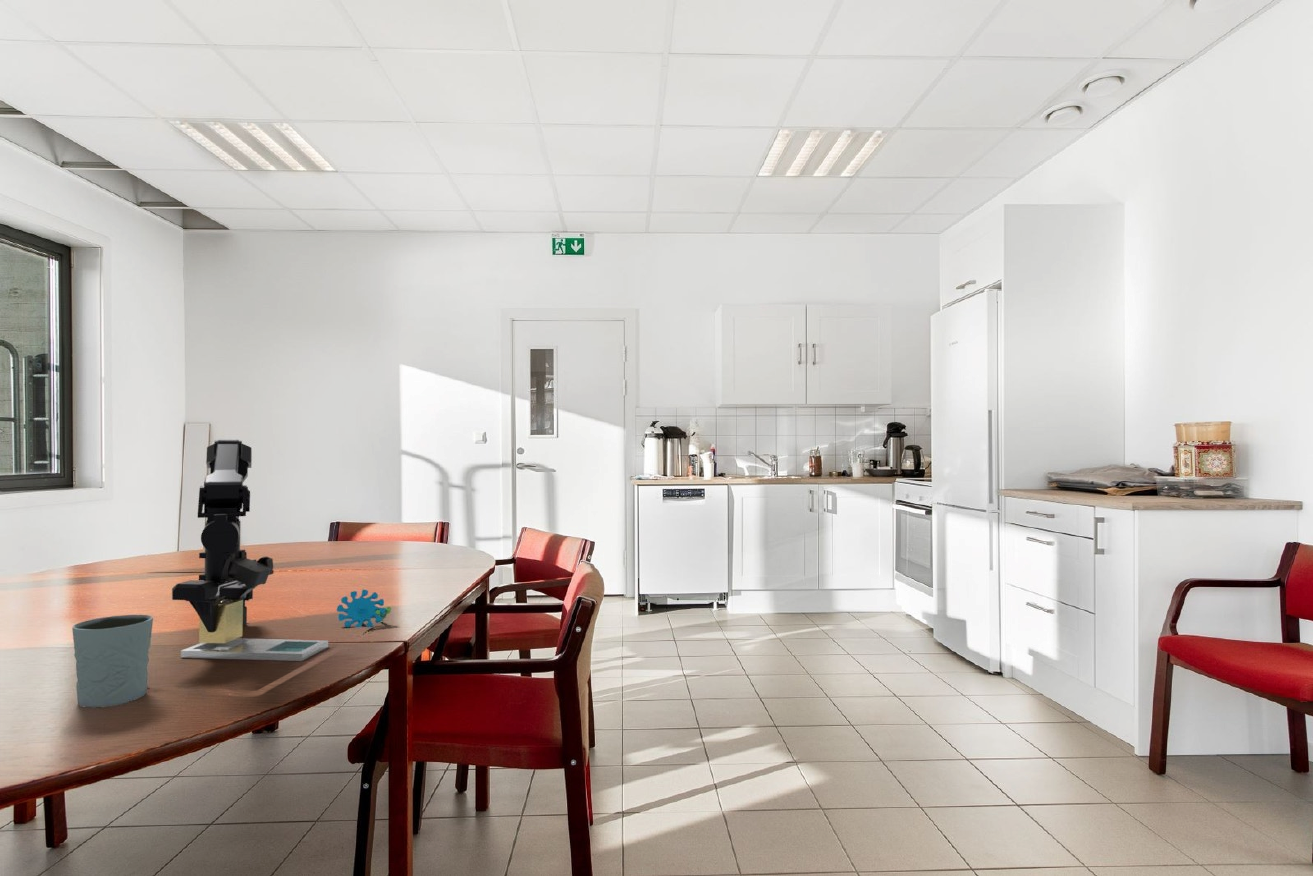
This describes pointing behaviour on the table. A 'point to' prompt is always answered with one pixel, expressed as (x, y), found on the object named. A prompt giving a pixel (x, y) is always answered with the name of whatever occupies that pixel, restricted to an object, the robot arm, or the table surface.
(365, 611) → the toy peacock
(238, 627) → the block
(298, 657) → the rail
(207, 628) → the robot arm
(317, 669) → the table surface
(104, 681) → the embossed vase
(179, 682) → the table surface
